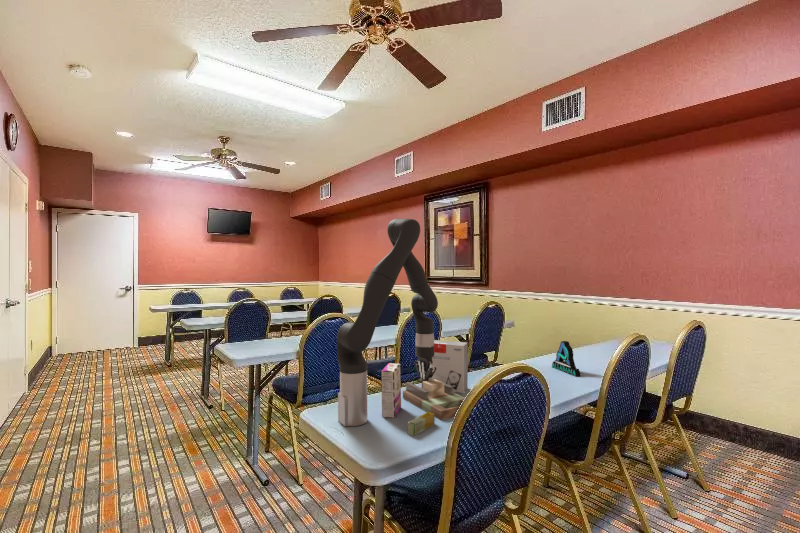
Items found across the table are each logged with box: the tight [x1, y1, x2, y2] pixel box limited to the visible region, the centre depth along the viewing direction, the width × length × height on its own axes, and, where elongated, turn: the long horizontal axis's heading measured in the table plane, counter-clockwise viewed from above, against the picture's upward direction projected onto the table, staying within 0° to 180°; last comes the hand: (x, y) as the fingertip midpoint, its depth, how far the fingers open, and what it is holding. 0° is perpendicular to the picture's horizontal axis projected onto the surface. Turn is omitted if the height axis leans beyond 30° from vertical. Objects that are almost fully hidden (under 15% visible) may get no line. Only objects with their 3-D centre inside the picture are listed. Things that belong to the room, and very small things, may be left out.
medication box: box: [406, 412, 436, 437], centre depth 129 cm, size 12×3×4 cm, turn 142°
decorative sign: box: [551, 340, 582, 378], centre depth 197 cm, size 19×2×15 cm, turn 14°
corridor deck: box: [402, 378, 466, 421], centre depth 152 cm, size 16×26×6 cm, turn 29°
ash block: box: [423, 379, 444, 397], centre depth 155 cm, size 6×6×4 cm
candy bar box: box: [380, 362, 402, 419], centre depth 144 cm, size 11×5×16 cm, turn 168°
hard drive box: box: [429, 339, 469, 394], centre depth 171 cm, size 16×8×20 cm, turn 68°
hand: (425, 387), depth 160 cm, fingers closed
